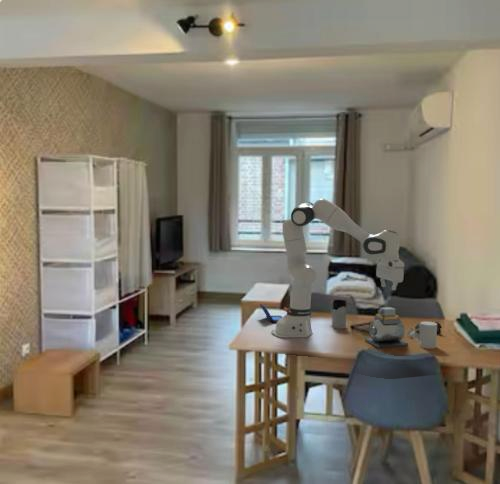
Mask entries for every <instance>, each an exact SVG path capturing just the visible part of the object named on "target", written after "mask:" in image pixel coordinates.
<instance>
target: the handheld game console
mask: <svg viewBox="0 0 500 484" xmlns="http://www.w3.org/2000/svg"><path fill="white" fill-rule="evenodd" d="M259 306H260V307H261V309H262V311H263V312H264V315H265V318H266V317H267V318H268V319H269V320H268V319H267V318H266V319H267V320H268V321H269V322H271V324H277V322H278V320H280V319H281V318H282V317H283V316H282V315H271V314H270V312H269V310H268V309H267V307H265V306H264V305H263V304H261V303H260V304H259Z"/></svg>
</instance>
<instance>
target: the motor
mask: <svg viewBox="0 0 500 484" xmlns="http://www.w3.org/2000/svg"><path fill="white" fill-rule="evenodd" d="M368 330H369V335H370V337H365V338H364V342H367V343H368V344H370V345H372V346H374V347H376V348H377V349H389V348H401V347H408V346H409V343H408V342H407V341H404V340H403V339H404V337H405V325H404V323H403V321H402V319H401V318H400V315H397V314H395V316H388V317H384V316H381V315H380V314H379V313H375V315H374V317H373V320H371V322H370V323H369V329H368Z"/></svg>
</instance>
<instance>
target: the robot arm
mask: <svg viewBox="0 0 500 484" xmlns="http://www.w3.org/2000/svg"><path fill="white" fill-rule="evenodd" d="M315 219H317V220H319V221H321V222H322V223H324V224H325V225H327V227H329V228H331V229H333V230H334V231H337V232H338V231H339V232H344V233H346V234H348V235H350V236H352V237H353V238H355V240H358V241H359V242H360V243H362V247H363V251H364V252H365V253H367V254H368V255H373V256H374V255H379V254H380V260H379V261H378V263H377V265H376V272H375V275H376V277H377V278H380V279H379V280H380V283H381V284H380V285H381V287H382V288H386V287H387V283H386V280H387V281H391V282H392V286H391V287H390V288H391V289H390V290H392V291H396V290H397V286H398V284H399V283H403V281H404V275H405V274H404V272H405V271H404V268H405V262H403V261H402V260H401V259H400V255H399V250H400V243H401V242H400V235H399V233H398V232H397V231H395V230H391V229H384V230H382V231H381V232H378V233H376V234H375V233H372V232H371V233H370V232H369V231H367V230H365V229H364V228H363V227H361V226H360V225H358V224H357V223H355V221H353V220H352V219H351V217H350V216H349V215H348V214H347V213H346V212H345V211H344V210H343V209H342V208H340V206H338V205H336V204H334V203H333V202H331V201H329V200H327V199H325V198H319V199H317V200H316V201H315V202H314V203H312V202H310V201H304V202H301V203H300V204H298V205H296V207H294V208H293V209H292V211H291V213H290V218H287V219H285V220H284V221H283V222H282V237H283V241H284V246H285V247H284V248H285V251H286V258H287V260H286V261H287V262H286V263H287V264H286V265H287V268H286V274H287V275H288V277H289V278H290V279H291V280H292V281H293V285H292V289H291V292H290V297H289V299H290V300H289V301H290V302H289V307H288V308H287V307H284V308H283V311H284V312H286V314H285V315H284V316H282V318H281V319H280V320H278V322H277V323H275V329H271V334H272V335H273V334H274V335H273V336H276V337H277V336H278V337H277V338H308V337H309V336H312V335H313V329H312V324H311V317H312V308H311V301H312V300H311V299H312V297H311V296H312V289H313V287H314V286H313V285H314V284H315V283H314V282H315V281H316V279H317V272H316V270H315V268H313V266H312V265H310V264H307V252H308V248H307V243H306V240H305V238H306V237H305V233H304V227H305V226H307V225H309V224H310V223H312V222H313V220H315Z"/></svg>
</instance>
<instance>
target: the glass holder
mask: <svg viewBox="0 0 500 484" xmlns="http://www.w3.org/2000/svg"><path fill="white" fill-rule="evenodd" d="M329 311H330V314H331V317H332V320H331V326H330V327H331V328H334V329H347V325H346V324H347V301H346V300H345V299H334V300H330V302H329Z"/></svg>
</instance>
